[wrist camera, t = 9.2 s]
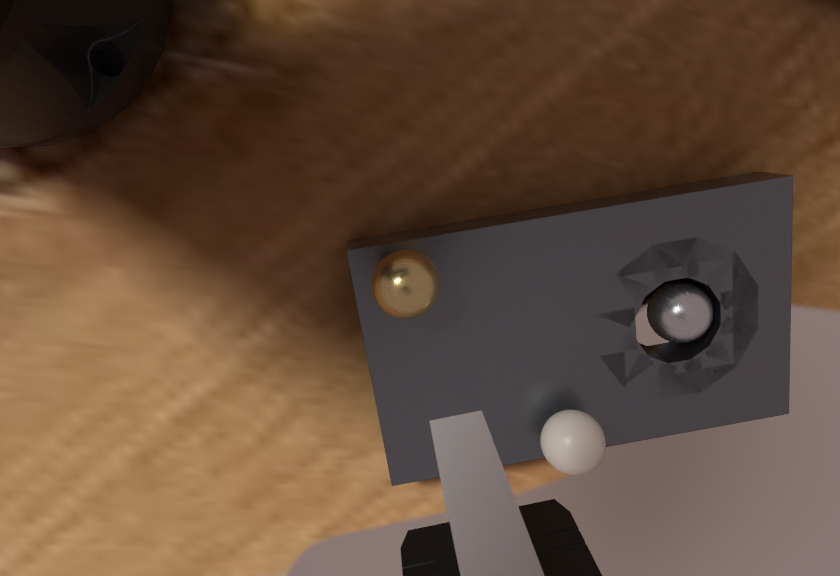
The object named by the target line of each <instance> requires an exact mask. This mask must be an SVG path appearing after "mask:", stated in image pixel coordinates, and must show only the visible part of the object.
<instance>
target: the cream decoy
mask: <svg viewBox="0 0 840 576" xmlns="http://www.w3.org/2000/svg"><path fill="white" fill-rule="evenodd" d="M540 443H541V449H542V452H543V454H544V456H545V458H546V460H547V461H548V462H549V463H550V464H551V465H552V466H553V467H554V468H555V469H557V470H559V471H560V472H563V473H566V474H570V475H579V474H584V473H587V472H589V471H591V470H593V469H594V468H595V467H596V466H597V465H598V464H599V463H600V461H601V460H602V458H603V456H604V453H605V447H606V442H605V436H604V433H603V430H602V428H601V426H600V425H599V423H598V422H597V421H596V420H595V419H594V418H593V417H591V416H590V415H588V414H587V413H585V412H582V411H579V410H563V411H560V412H558V413H556V414H554V415H553V416H551V417H550V418H549V419H548V420H547V422H546V423H545V425H544V426H543V429H542V432H541V438H540Z"/></svg>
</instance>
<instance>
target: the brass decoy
mask: <svg viewBox="0 0 840 576" xmlns="http://www.w3.org/2000/svg"><path fill="white" fill-rule="evenodd" d="M440 289H441V280H440V275H439V272H438V270H437V268H436V266H435V265H434V263H433V262H432V261H431V260H430V259H429V258H428V257H427V256H425V255H423V254H422V253H419V252H417V251H413V250H399V251H395V252H393V253H390V254H388V255H387V256H385V257H384V258H383V259H382V260H381V261H380V262H379V263H378V264H377V266H376V267H375V269H374V272H373V275H372V279H371V291H372V295H373V298H374V300H375V302H376V304H377V305H378V306H379V308H380V309H381V310H382V311H384V312H385V313H386V314H388V315H389V316H392V317H394V318H397V319H403V320H408V319H414V318H418V317H420V316H422V315H424V314H426V313H427V312H428V311H429V310H430V309H431V308H432V307H433V306H434V305H435V303H436V302H437V299H438V297H439V294H440Z"/></svg>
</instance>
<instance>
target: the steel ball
mask: <svg viewBox="0 0 840 576" xmlns="http://www.w3.org/2000/svg"><path fill="white" fill-rule="evenodd" d="M647 317H648V321H649V323H650V325H651V327H652V329H653V330H654V331H655V332H656V333H657V334H658V335H659V336H661V337H662V338H664V339H666V340H668V341H671V342H677V343H684V342H690V341H693V340H695V339H697V338H699V337H701V336H702V335H703V334H704V333H705V332H706V331H707V330H708V328H709V327H710V325H711V322H712V319H713V307H712V303H711V301H710V299H709V297H708V296H707V294H706V293H705V292H704V291H703V290H701V289H700V288H699V287H697V286H695V285H693V284H690V283H685V282H674V283H670V284H667V285H664V286H663V287H661V288H660V289H658V290H657V291H656V292H655V293H654V294H653V295H652V297H651V299H650V301H649V303H648V307H647Z"/></svg>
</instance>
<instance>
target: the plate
mask: <svg viewBox="0 0 840 576" xmlns="http://www.w3.org/2000/svg"><path fill="white" fill-rule="evenodd" d="M792 207H793V176H792V175H784V174H776V173H767V172H756V173H750V174H744V175H738V176H732V177H726V178H720V179H714V180H708V181H702V182H697V183H691V184H685V185H679V186H673V187H667V188H661V189H655V190H649V191H643V192H637V193H631V194H625V195H619V196H613V197H607V198H601V199H595V200H589V201H583V202H577V203H571V204H565V205H560V206H554V207H548V208H542V209H536V210H530V211H524V212H518V213H512V214H506V215H500V216H494V217H488V218H482V219H476V220H470V221H464V222H458V223H452V224H446V225H440V226H434V227H428V228H423V229H417V230H411V231H405V232H399V233H393V234H387V235H381V236H375V237H369V238H363V239H357V240H351V241H348V246H347V256H348V261H349V266H350V272H351V277H352V282H353V287H354V292H355V297H356V303H357V308H358V313H359V318H360V323H361V328H362V334H363V339H364V344H365V349H366V354H367V360H368V365H369V370H370V375H371V380H372V385H373V391H374V396H375V401H376V406H377V411H378V416H379V422H380V427H381V432H382V437H383V442H384V447H385V453H386V458H387V463H388V468H389V473H390V478H391V484H392V486H394V485H400V484H405V483H411V482H416V481H422V480H427V479H433V478H438V477H440V475H439V469H438V464H437V459H436V453H435V448H434V443H433V438H432V432H431V427H430V422H429V421H431V420H436V419H441V418H446V417H451V416H456V415H461V414H466V413H471V412H476V411H481V410H482V413H483V415H484V418H485V420H486V423H487V426H488V428H489V431H490V434H491V436H492V439H493V442H494V444H495V447H496V449H497V452H498V455H499V457H500V460H501V463H502V465H503V466H504V465H510V464H515V463H521V462H526V461H532V460H537V459H543V458H545V456H544V454H543V452H542V449H541V443H540V438H541V432H542V429H543V426H544V425H545V423H546V422H547V420H548V419H549V418H550V417H551V416H553V415H554V414H556V413H558V412H560V411H563V410H579V411H582V412H585V413H587V414H588V415H590V416H591V417H593V418H594V419H595V420H596V421H597V422H598V423H599V425H600V426H601V428H602V430H603V433H604V436H605V442H606V447H608V446H613V445H619V444H625V443H630V442H635V441H641V440H647V439H652V438H658V437H663V436H669V435H674V434H679V433H685V432H690V431H696V430H702V429H706V428H713V427H718V426H723V425H729V424H734V423H740V422H746V421H751V420H756V419H762V418H767V417H773V416H778V415H784V414H788V413H789V377H790V321H791V320H790V319H791V264H792ZM399 250H413V251H417V252H419V253H422V254H423V255H425V256H427V257H428V258H429V259H430V260H431V261H432V262H433V263H434V265H435V266H436V268H437V270H438V272H439V275H440V280H441V289H440V294H439V297H438V299H437V302H436V303H435V305H434V306H433V307H432V308H431V309H430V310H429V311H428V312H427V313H426V314H424V315H422V316H420V317H418V318H414V319H408V320H403V319H397V318H394V317H392V316H389V315H388V314H386V313H385V312H384V311H382V310H381V309H380V308H379V306H378V305H377V304H376V302H375V300H374V298H373V295H372V291H371V279H372V275H373V272H374V269H375V267H376V266H377V264H378V263H379V262H380V261H381V260H382V259H383V258H384V257H385V256H387V255H388V254H390V253H393V252H395V251H399ZM682 278H687V279H688V280H689V282H690V283H691V284H693V285H695V286H697V287H699V288H700V289H701V290H703V291H704V292H705V293H706V294H707V296H708V297H709V299H710V301H711V303H712V307H713V319H712V322H711V325H710V327H709V328H708V330H707V331H706V332H705V333H704V334H703V335H702V336H701V337H699V338H697V339H695V340H693V341H690V342H684V343H677V342H671V341H670V342H668V343H663V344H658V345H652V346H645V345H642V344H640V343H638V341H637V340H636V327H635V317H636V315H637V313H638V311H639V308H640V306H641V304H642V302H643V300H644V298H645V296H647V295H648V294H649V293H651V292H652V291H653V290H654V289H656V288H657V287H658V286H660V285H661V284H662V283H664V282H665V281H671V280H677V279H682Z"/></svg>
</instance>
